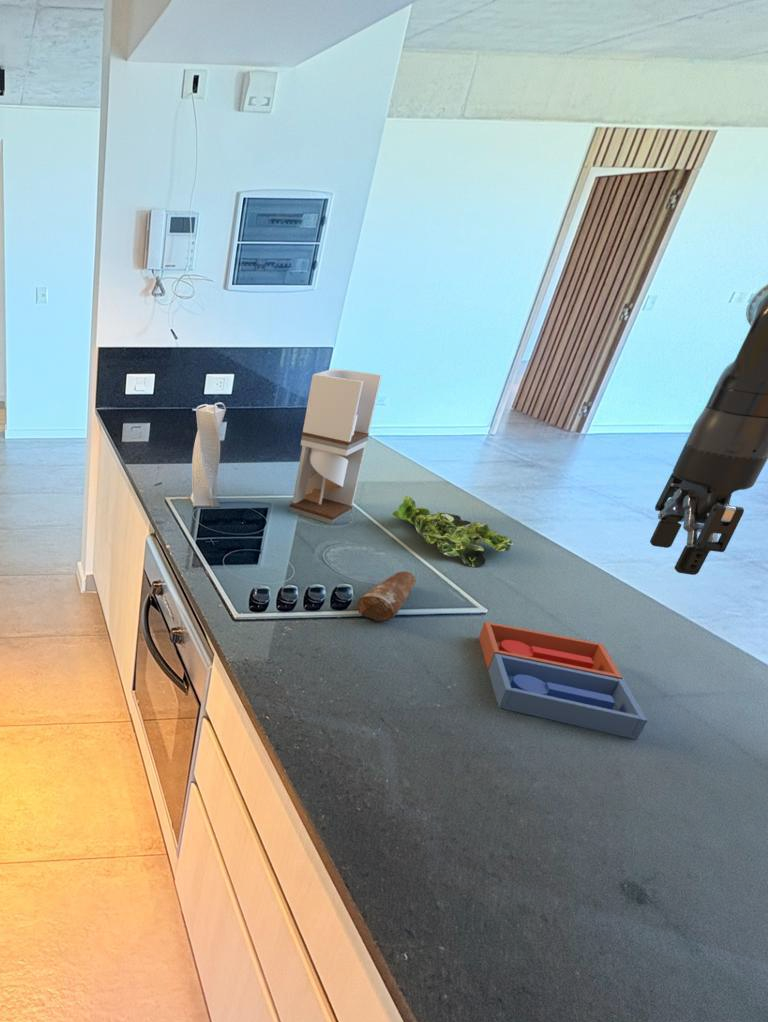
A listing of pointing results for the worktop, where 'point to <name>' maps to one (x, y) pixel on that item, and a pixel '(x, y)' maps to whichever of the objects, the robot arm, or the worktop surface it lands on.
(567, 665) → the red bin
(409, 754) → the worktop surface
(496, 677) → the blue bin
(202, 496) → the skyscraper
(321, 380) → the white tiered shelf stand
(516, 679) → the blue spoon
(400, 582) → the brown rounded cylinder
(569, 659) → the red spoon
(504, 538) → the lettuce
